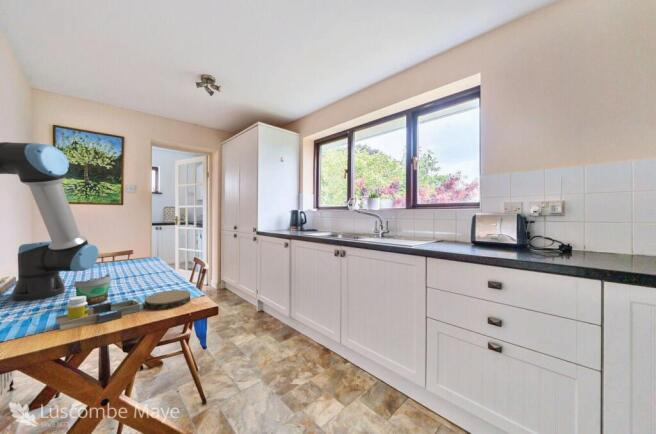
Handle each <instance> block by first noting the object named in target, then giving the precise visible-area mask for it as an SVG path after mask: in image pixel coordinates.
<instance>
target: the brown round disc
mask: <svg viewBox="0 0 656 434" xmlns="http://www.w3.org/2000/svg"><path fill="white" fill-rule="evenodd" d="M190 301H191V292H190V291H189V290H183V289H182V290H181V289H176V290H175V289H173V290H165V291H159V292H156V293H152V294H150V295H147V297H145V299H144V308H145V309H147V310H151V311H164V310H171V309H175V308H179V307H182V306H184V305H186V304H188V303H190Z"/></svg>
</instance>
